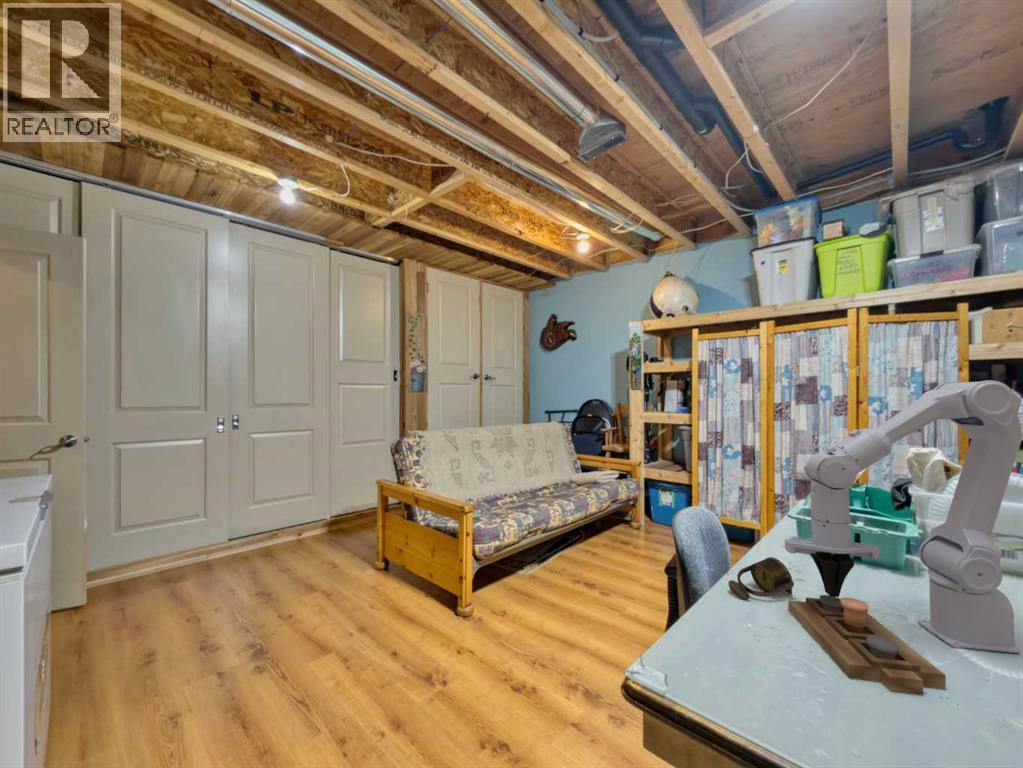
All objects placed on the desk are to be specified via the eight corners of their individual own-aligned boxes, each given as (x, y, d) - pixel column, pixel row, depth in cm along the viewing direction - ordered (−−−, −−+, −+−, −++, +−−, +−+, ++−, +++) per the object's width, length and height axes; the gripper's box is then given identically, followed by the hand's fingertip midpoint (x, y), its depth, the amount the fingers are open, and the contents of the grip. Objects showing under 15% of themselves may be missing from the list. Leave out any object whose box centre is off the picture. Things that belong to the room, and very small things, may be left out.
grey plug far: (837, 614, 79) (837, 595, 79) (848, 624, 75) (848, 605, 76) (816, 612, 80) (815, 594, 80) (826, 622, 76) (825, 603, 76)
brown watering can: (809, 580, 83) (783, 551, 93) (740, 571, 85) (722, 543, 94) (801, 612, 85) (777, 580, 94) (734, 602, 86) (717, 572, 96)
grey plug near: (888, 660, 65) (887, 637, 65) (905, 675, 62) (904, 651, 62) (861, 657, 66) (861, 634, 66) (876, 671, 62) (876, 648, 63)
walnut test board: (853, 612, 81) (852, 597, 81) (957, 699, 58) (957, 678, 58) (784, 605, 84) (783, 591, 84) (857, 687, 60) (857, 666, 60)
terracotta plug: (860, 618, 72) (859, 598, 72) (873, 630, 69) (873, 608, 69) (836, 616, 73) (836, 596, 73) (848, 627, 69) (848, 606, 70)
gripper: (861, 515, 81) (863, 588, 80) (777, 511, 84) (779, 581, 83) (886, 526, 74) (888, 606, 73) (794, 522, 77) (795, 598, 76)
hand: (832, 594), depth 78 cm, fingers closed
